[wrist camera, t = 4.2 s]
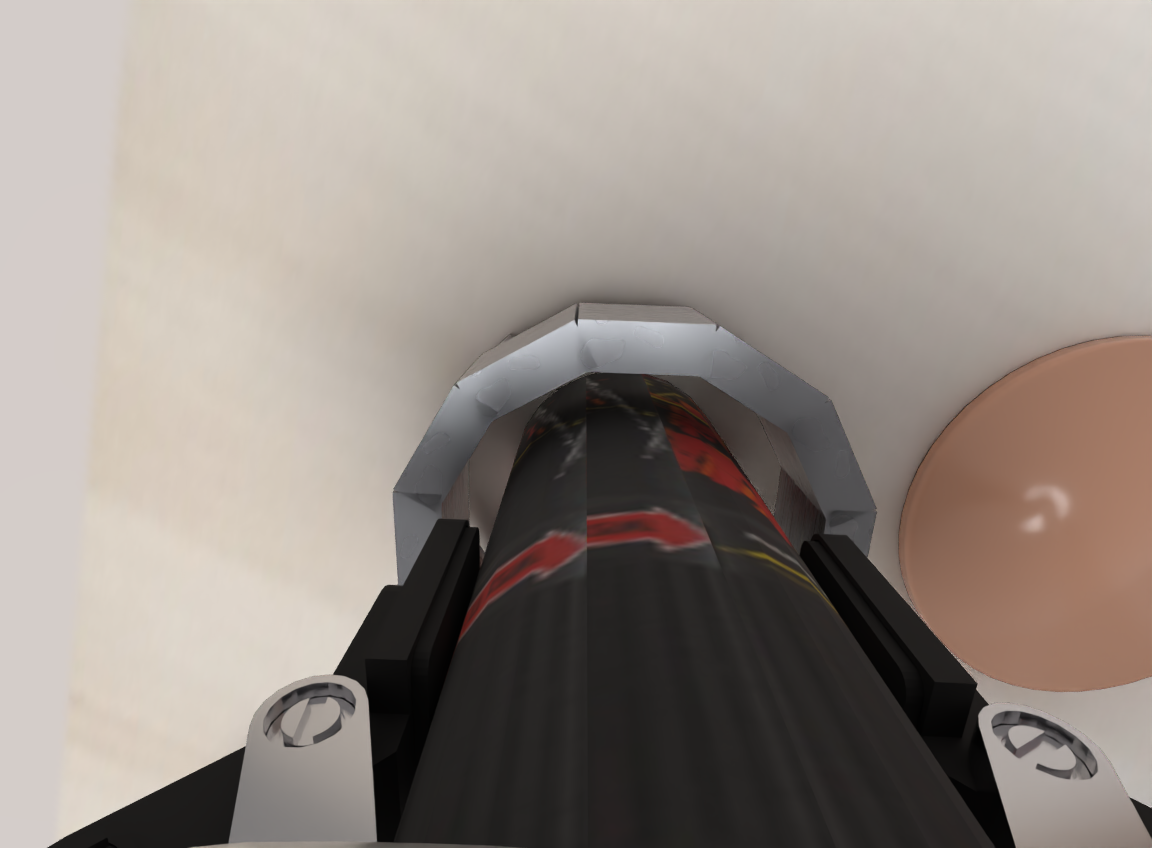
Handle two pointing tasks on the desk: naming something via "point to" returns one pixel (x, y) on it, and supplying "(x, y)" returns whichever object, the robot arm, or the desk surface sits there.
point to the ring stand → (638, 346)
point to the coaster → (1042, 523)
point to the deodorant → (661, 662)
